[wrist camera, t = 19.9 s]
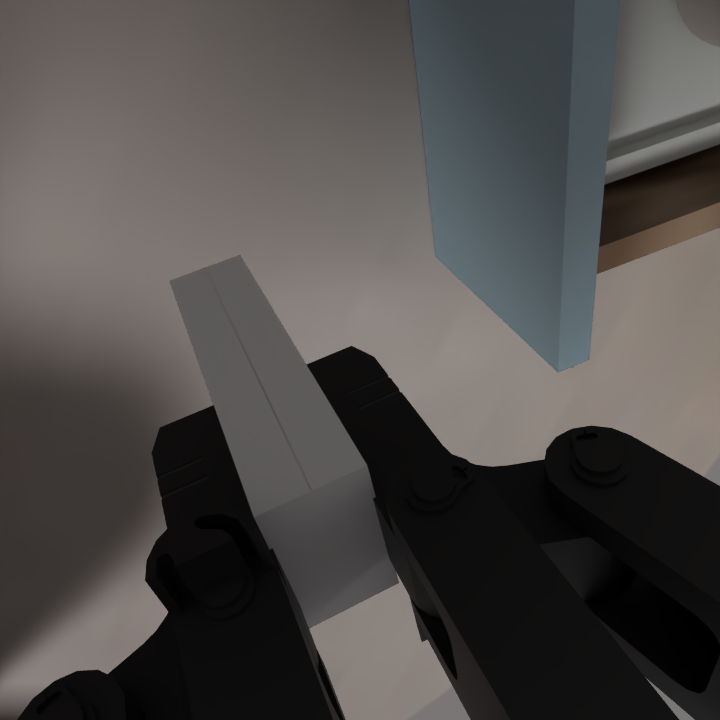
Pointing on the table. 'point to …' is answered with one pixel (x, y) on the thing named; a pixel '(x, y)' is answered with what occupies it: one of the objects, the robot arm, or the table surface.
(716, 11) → the coffee cup
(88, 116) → the table surface
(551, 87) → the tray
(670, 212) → the brown wooden frame
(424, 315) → the table surface
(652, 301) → the table surface
